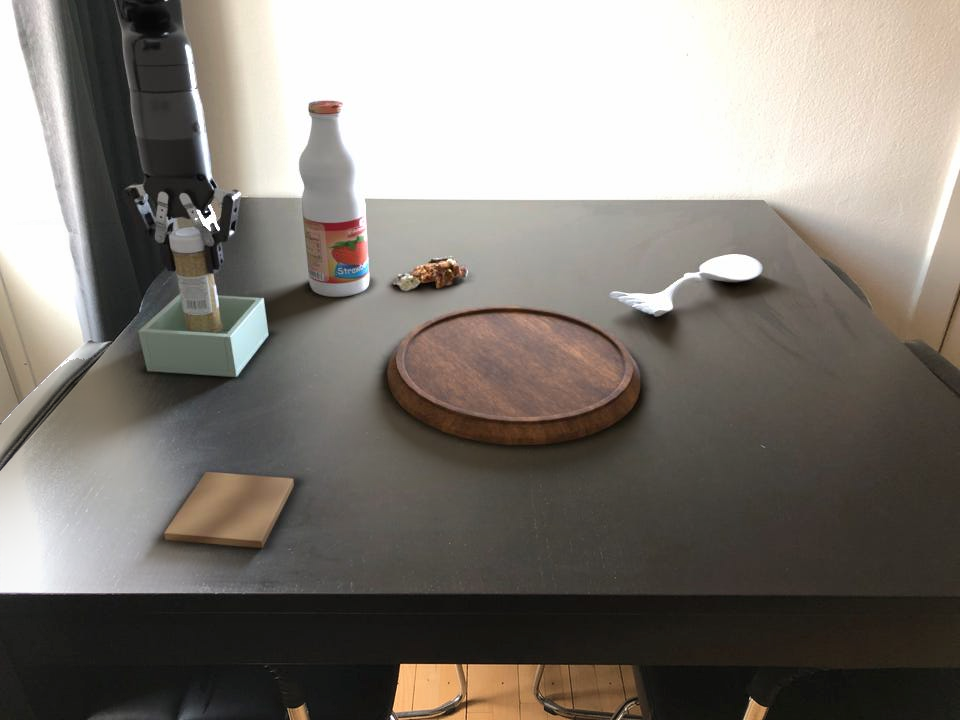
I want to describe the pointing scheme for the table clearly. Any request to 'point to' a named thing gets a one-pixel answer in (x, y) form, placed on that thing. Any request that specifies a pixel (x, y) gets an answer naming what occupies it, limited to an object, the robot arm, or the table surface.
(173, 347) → the tub
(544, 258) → the table surface
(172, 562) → the table surface
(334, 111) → the fruit juice
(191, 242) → the sprinkles bottle
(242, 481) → the plate
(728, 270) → the spoon
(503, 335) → the cutting board
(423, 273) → the pastry
